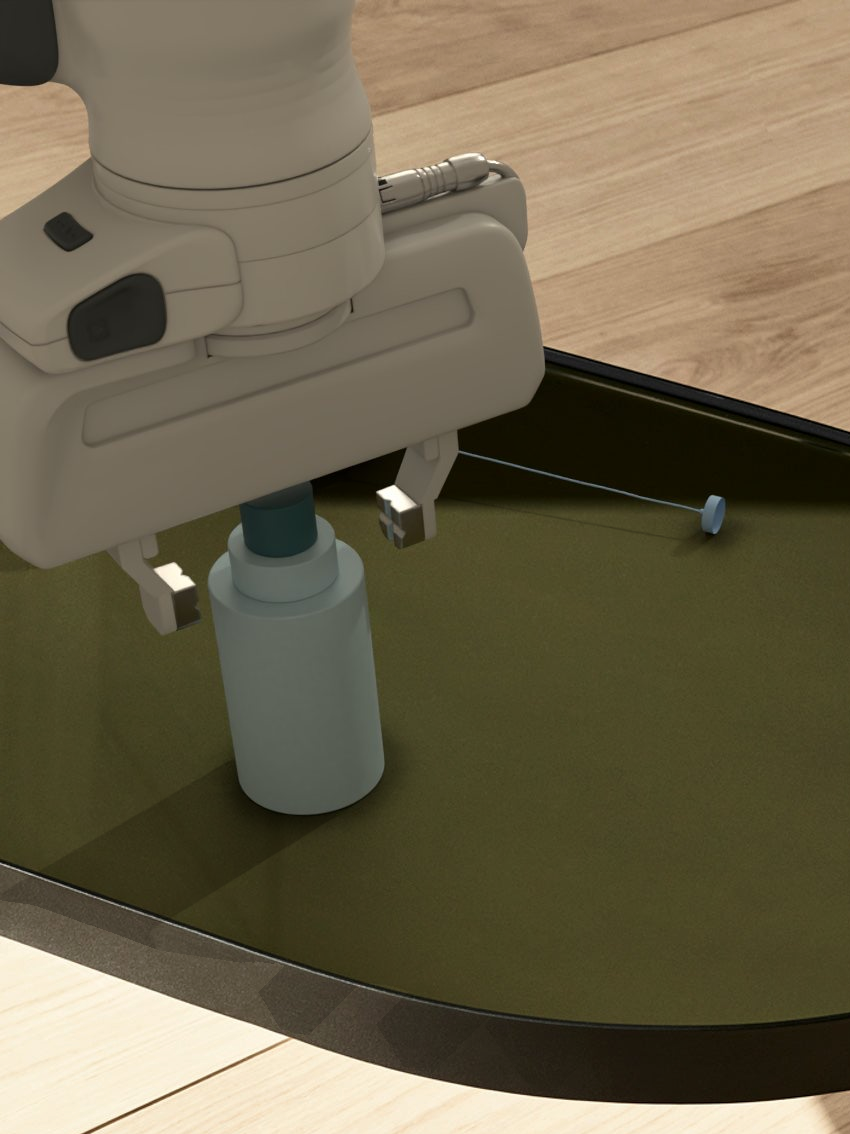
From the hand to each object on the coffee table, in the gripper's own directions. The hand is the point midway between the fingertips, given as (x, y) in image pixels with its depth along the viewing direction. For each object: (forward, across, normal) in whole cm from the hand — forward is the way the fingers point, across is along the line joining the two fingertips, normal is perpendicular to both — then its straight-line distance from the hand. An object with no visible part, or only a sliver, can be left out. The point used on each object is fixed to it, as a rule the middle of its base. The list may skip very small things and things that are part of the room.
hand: (294, 578), depth 83 cm
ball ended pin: (+9, -17, -13) cm, 23 cm away
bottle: (+9, 0, 0) cm, 9 cm away
